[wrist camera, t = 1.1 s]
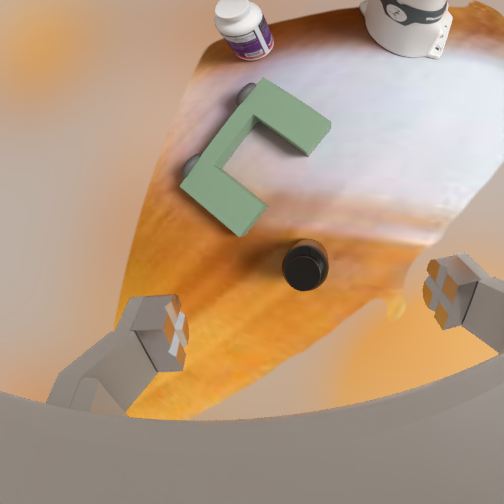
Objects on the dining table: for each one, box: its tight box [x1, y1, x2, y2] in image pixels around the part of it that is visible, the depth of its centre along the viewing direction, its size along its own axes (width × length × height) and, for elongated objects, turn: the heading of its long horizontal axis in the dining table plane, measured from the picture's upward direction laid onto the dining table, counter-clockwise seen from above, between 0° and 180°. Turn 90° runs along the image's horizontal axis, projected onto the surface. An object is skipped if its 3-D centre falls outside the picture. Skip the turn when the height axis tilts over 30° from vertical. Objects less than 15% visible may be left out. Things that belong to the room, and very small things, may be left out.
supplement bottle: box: [282, 239, 329, 291], centre depth 44 cm, size 7×7×12 cm
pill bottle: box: [215, 0, 274, 60], centre depth 39 cm, size 8×8×14 cm
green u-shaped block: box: [180, 78, 331, 237], centre depth 47 cm, size 24×15×5 cm, turn 142°
